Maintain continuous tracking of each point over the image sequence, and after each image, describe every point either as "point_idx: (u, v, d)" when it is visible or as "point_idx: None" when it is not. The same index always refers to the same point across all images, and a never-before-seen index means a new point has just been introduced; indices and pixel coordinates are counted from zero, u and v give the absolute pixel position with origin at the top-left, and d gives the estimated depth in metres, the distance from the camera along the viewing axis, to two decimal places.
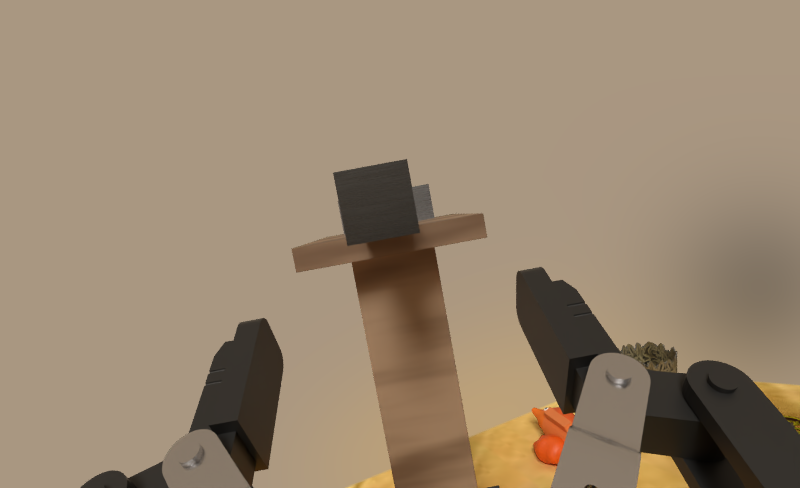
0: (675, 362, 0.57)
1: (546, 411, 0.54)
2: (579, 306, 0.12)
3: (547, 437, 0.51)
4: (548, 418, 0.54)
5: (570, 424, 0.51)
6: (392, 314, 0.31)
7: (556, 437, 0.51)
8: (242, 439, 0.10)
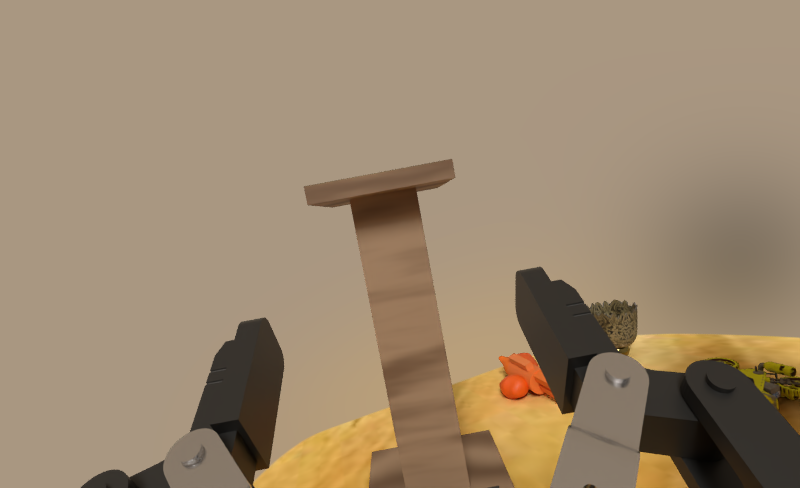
0: (635, 314, 0.65)
1: (510, 356, 0.63)
2: (578, 306, 0.12)
3: (511, 376, 0.60)
4: (512, 362, 0.62)
5: (530, 363, 0.59)
6: (382, 245, 0.38)
7: (518, 375, 0.59)
8: (243, 438, 0.10)
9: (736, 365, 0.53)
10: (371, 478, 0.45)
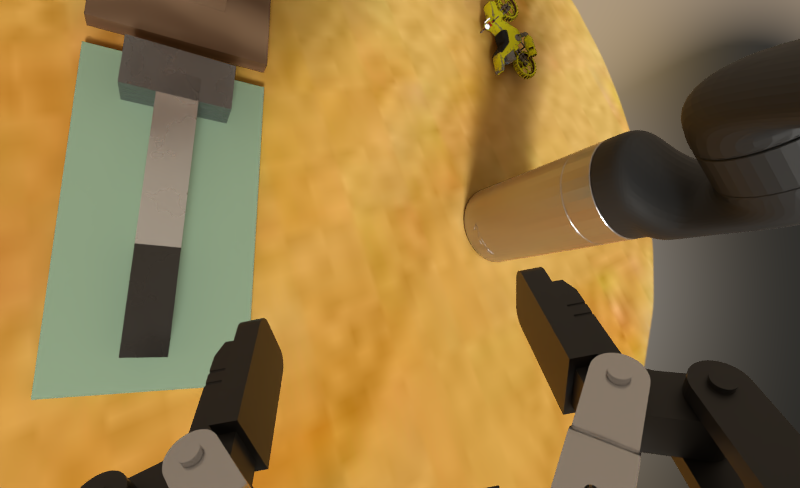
0: None
1: None
2: (579, 306, 0.12)
3: None
4: None
5: None
6: None
7: None
8: (242, 439, 0.10)
9: (514, 17, 0.58)
10: None
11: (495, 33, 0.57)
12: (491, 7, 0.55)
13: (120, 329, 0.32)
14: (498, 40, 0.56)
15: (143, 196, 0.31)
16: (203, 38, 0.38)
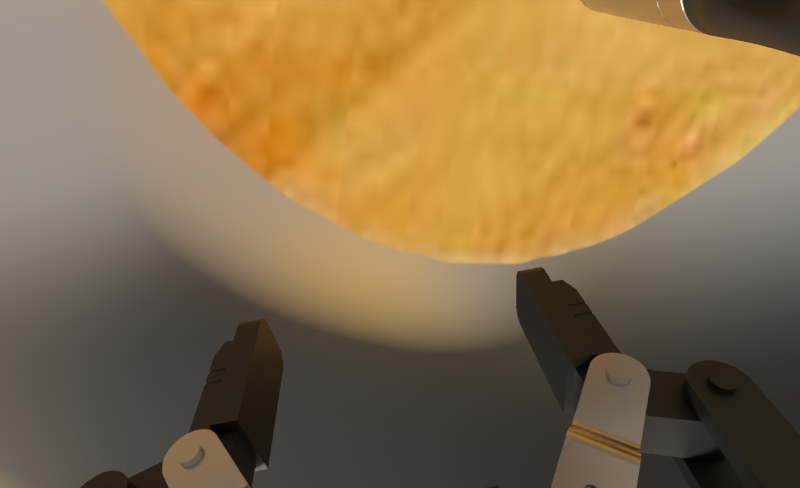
0: None
1: None
2: (579, 306, 0.12)
3: None
4: None
5: None
6: None
7: None
8: (242, 439, 0.10)
9: None
10: None
11: None
12: None
13: None
14: None
15: None
16: None
